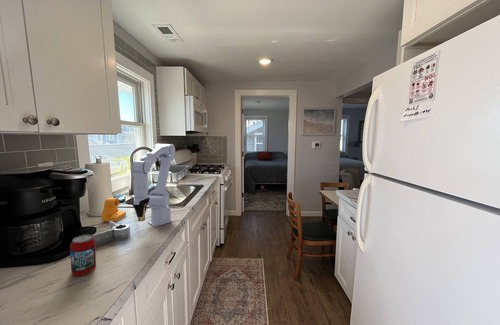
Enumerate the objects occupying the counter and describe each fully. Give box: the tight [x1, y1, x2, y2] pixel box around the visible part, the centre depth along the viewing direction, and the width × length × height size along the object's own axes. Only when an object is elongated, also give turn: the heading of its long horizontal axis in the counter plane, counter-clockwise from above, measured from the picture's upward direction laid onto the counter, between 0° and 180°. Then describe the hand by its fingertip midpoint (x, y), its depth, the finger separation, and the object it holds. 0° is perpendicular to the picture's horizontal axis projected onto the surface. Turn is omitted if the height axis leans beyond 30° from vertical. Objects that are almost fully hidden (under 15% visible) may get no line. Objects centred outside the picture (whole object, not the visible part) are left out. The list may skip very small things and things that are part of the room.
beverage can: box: [69, 234, 97, 277], centre depth 73 cm, size 7×7×12 cm
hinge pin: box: [137, 204, 146, 222], centre depth 99 cm, size 4×4×8 cm
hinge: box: [92, 221, 131, 247], centre depth 97 cm, size 14×14×5 cm
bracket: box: [101, 197, 127, 222], centre depth 119 cm, size 11×7×12 cm, turn 179°
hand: (141, 215), depth 99 cm, fingers closed on hinge pin, 4 cm apart
